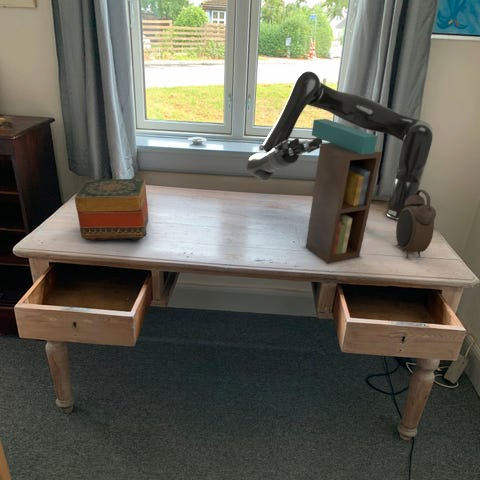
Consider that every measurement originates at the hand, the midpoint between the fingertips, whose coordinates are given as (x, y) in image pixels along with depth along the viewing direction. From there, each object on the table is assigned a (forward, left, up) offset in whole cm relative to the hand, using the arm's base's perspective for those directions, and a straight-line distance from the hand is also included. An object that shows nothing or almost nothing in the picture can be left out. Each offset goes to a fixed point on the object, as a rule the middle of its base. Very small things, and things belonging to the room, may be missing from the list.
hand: (309, 140), depth 148 cm
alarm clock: (-34, +13, -30) cm, 47 cm away
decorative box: (+59, +13, -30) cm, 67 cm away
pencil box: (-7, +13, +3) cm, 15 cm away
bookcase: (-10, +17, -29) cm, 35 cm away
